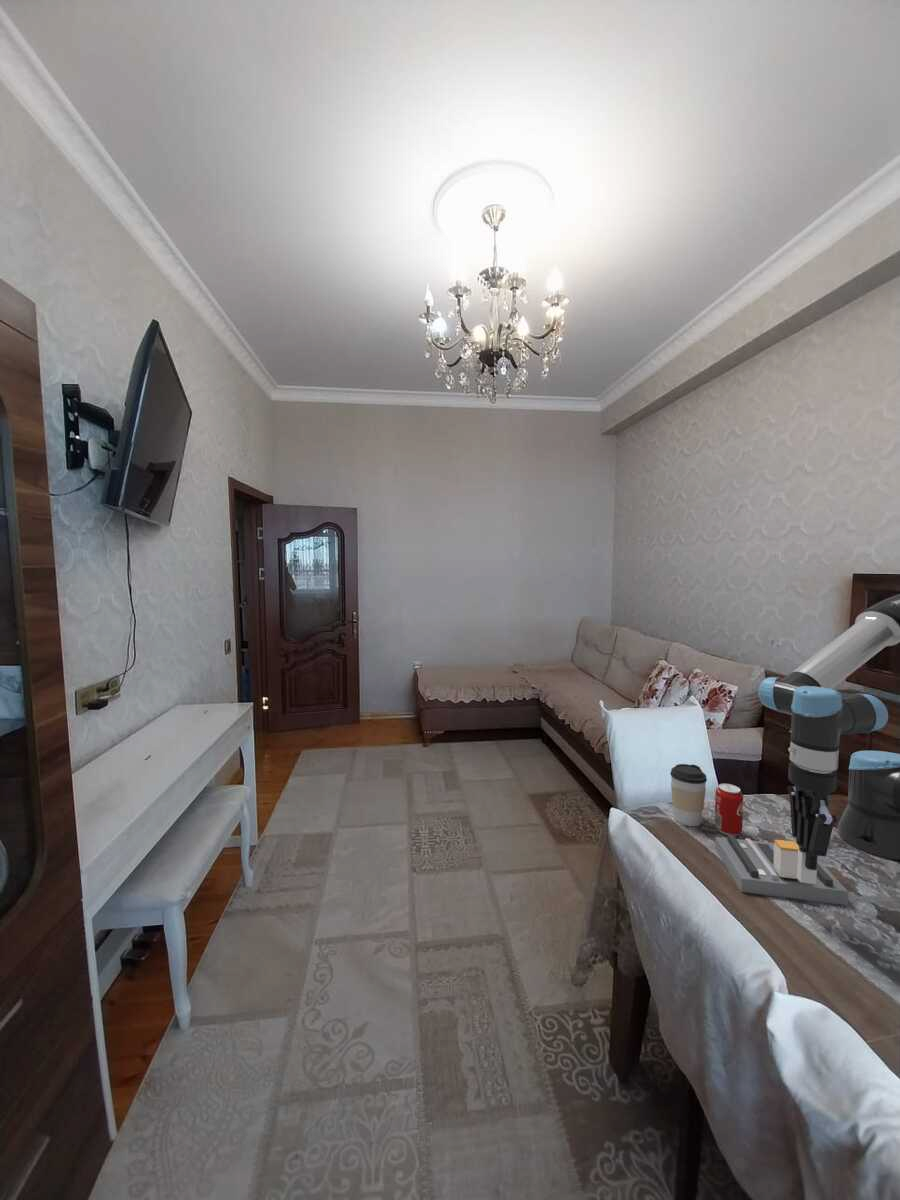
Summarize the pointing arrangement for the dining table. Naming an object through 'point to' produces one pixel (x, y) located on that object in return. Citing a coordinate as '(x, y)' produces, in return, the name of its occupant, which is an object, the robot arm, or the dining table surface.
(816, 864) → the robot arm
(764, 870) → the panel
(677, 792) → the coffee cup
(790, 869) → the orange-topped grey block
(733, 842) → the dark grey rail
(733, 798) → the beverage can
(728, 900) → the dining table surface
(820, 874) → the dark grey bar
